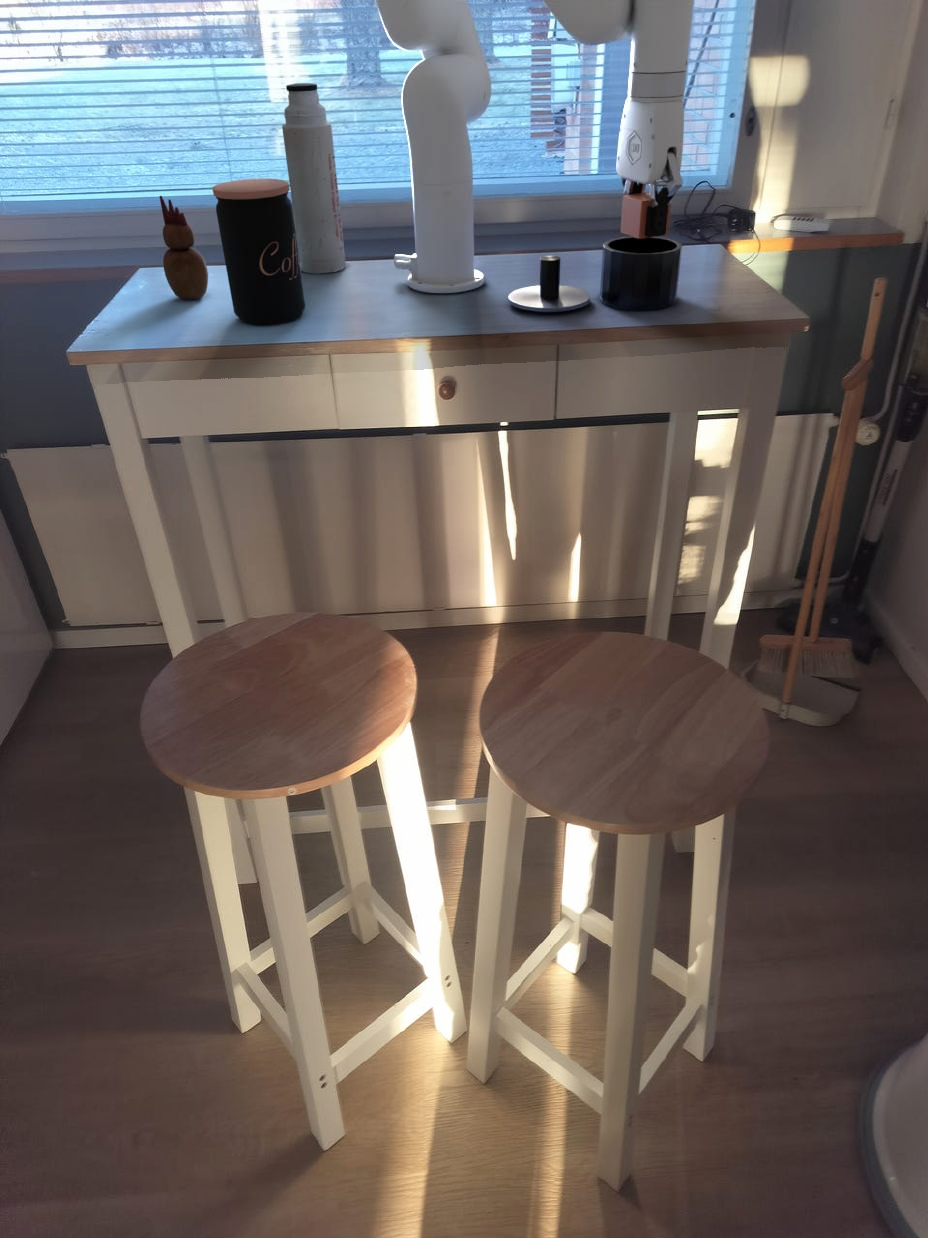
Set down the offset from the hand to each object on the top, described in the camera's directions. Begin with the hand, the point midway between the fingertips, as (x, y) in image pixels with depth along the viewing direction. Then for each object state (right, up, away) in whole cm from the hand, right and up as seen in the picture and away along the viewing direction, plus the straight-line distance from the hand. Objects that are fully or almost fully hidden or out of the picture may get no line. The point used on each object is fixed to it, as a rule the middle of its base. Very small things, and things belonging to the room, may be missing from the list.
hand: (644, 230), depth 128 cm
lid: (-13, -8, +5) cm, 17 cm away
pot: (0, -8, +6) cm, 10 cm away
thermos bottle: (-51, +5, +27) cm, 58 cm away
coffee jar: (-56, -11, +4) cm, 57 cm away
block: (0, 0, 0) cm, 0 cm away
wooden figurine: (-71, -5, +14) cm, 72 cm away
